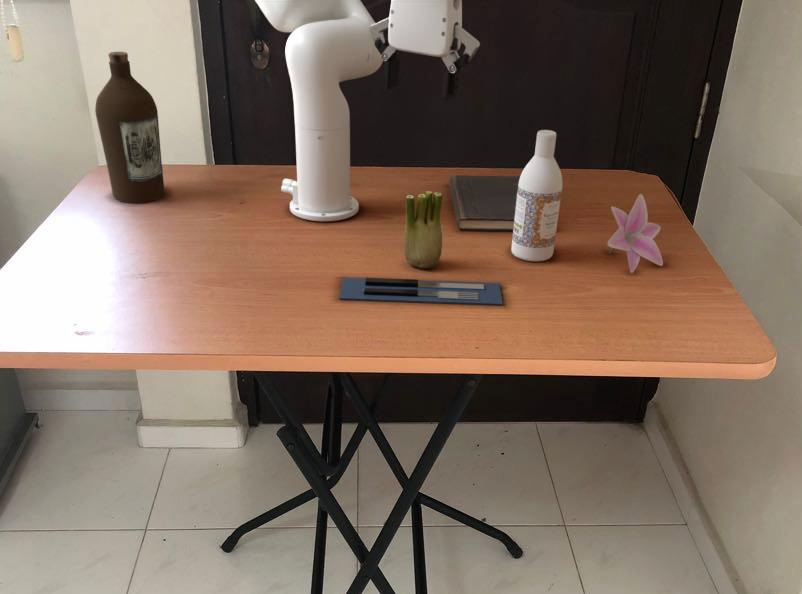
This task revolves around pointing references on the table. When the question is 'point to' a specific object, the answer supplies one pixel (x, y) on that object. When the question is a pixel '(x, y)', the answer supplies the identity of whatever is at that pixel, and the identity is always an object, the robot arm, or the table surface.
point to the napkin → (355, 291)
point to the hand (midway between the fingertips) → (419, 93)
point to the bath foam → (538, 202)
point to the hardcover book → (484, 202)
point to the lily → (636, 235)
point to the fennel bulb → (423, 230)
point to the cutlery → (421, 285)
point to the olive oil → (129, 135)
